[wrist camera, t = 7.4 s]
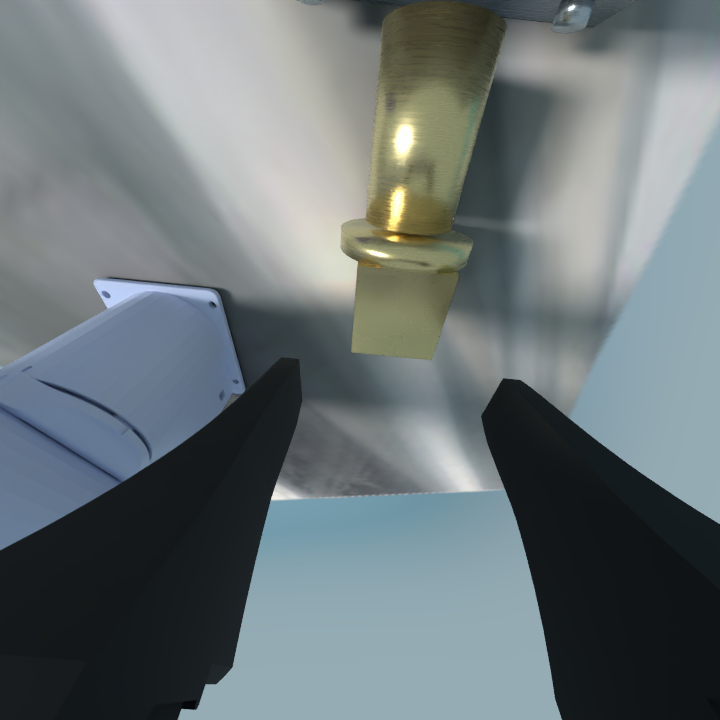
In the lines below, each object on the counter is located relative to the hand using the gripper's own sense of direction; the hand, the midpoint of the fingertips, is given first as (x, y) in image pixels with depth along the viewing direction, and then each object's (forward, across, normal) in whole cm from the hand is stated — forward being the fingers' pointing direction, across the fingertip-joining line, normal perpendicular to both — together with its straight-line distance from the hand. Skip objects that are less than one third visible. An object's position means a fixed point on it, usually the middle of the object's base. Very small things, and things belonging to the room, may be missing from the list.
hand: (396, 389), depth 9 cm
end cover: (+8, 0, -5) cm, 10 cm away
